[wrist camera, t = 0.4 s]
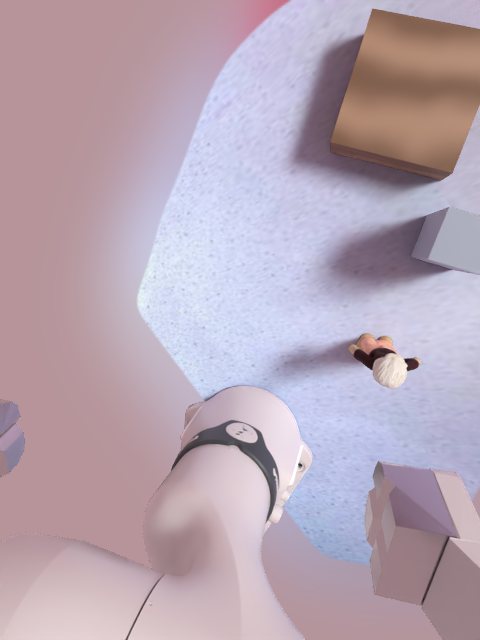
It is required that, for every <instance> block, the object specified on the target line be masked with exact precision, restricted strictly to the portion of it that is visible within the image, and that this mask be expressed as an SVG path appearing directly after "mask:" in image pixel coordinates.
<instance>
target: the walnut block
mask: <svg viewBox="0 0 480 640" xmlns="http://www.w3.org/2000/svg"><path fill="white" fill-rule="evenodd" d="M479 105H480V29H477V28H471V27H466V26H461V25H456V24H450V23H445V22H440V21H435V20H429V19H424V18H419V17H414V16H408V15H403V14H398V13H393V12H387V11H382V10H377V9H372V12H371V15H370V18H369V21H368V25H367V28H366V31H365V34H364V37H363V40H362V43H361V47H360V50H359V53H358V56H357V59H356V62H355V65H354V68H353V72H352V75H351V78H350V81H349V84H348V87H347V90H346V93H345V97H344V100H343V103H342V106H341V109H340V112H339V115H338V119H337V122H336V125H335V128H334V131H333V134H332V137H331V140H330V148H331V152H333V153H337V154H341V155H345V156H348V157H352V158H356V159H360V160H364V161H368V162H372V163H376V164H380V165H384V166H387V167H391V168H395V169H399V170H403V171H407V172H411V173H415V174H419V175H423V176H426V177H430V178H434V179H438V180H443V179H444V178H446V177H447V176H449V175H450V174H452V173H453V170H454V168H455V165H456V163H457V160H458V158H459V155H460V153H461V150H462V148H463V145H464V142H465V140H466V137H467V135H468V132H469V130H470V127H471V125H472V122H473V120H474V117H475V115H476V112H477V110H478V107H479Z"/></svg>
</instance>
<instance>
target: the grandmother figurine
mask: <svg viewBox="0 0 480 640" xmlns="http://www.w3.org/2000/svg"><path fill="white" fill-rule="evenodd" d="M348 350H349V352H350V353H352V355H353V356H354V357H355V358H356V359H357V360H359V361H361V362H362V363H363V364H364V365H365V366H367V367H368V368H369V369H371V370H373V376H374V378H375V380H376V381H377V382H378V383H379V384H381V385H383V386H386V387H388V388H391V389H393V388H397V387H399V386H400V385H401V384H402V383H403V382H404V381H405V379H406V376H407V371H410V370H414V369H416V368H417V367H418V366H419V365H420V364H421V361H420V359H419V358H416V357H415V358H410V359H409V358H408V359H403V358H402V357H401V356H400V355H399V354H397V352H396V351H395V349H394V348H393V347H392V339H391V338H390V337H388V336H382V337H380V338H379V340H374V337H373V336H372V335H370V334H363V335H362V336H361V338H360V339H359V340H358V342H357V343H356V345H354V344H352V345H350V346H349V347H348Z"/></svg>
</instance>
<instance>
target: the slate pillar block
mask: <svg viewBox="0 0 480 640" xmlns="http://www.w3.org/2000/svg"><path fill="white" fill-rule="evenodd" d="M410 257H412V258H416V259H419V260H422V261H425V262H429V263H432V264H435V265H439V266H442V267H445V268H449V269H452V270H457V271H462V272H467V273H473V274H478V275H480V215H477V214H473V213H469V212H466V211H462V210H459V209H455V208H451V207H448V208H445V209H443V210H440V211H437V212H435V213H432V214H429V215H427V216H426V219H425V221H424V224H423V226H422V229H421V231H420V234H419V236H418V239H417V241H416V244H415V246H414V249H413V251H412V254H411V256H410Z"/></svg>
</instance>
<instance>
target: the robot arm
mask: <svg viewBox="0 0 480 640" xmlns="http://www.w3.org/2000/svg"><path fill="white" fill-rule="evenodd" d="M19 418H20V413H19V409H18V405H17V404H15V403H13V402H11V401H6V400H1V399H0V477H2V476H4V475H6V474H8V473H10V472H11V470H12V469H13V468H14V467H15V466H16V465H17V464H18V462H19V460H20V458H21V456H22V454H23V452H24V445H25V438H24V432H23V431H22V430H21V429H20V427H19V426H18V425H17V424H16V422H17V421H18V419H19ZM180 438H181V440H182V444H181V451H180V452H179V454H178V456H177V458H176V460H175V462H174V464H173V466H172V469H171V472H170V474H169V475H168V476H167V478H166V479H165V480H164V481H163V483H162V484H161V486H160V487H159V488H158V490H157V491H156V492H155V494H154V495H153V496H152V498H151V499H150V501H149V503H148V506H147V508H146V511H145V515H144V519H143V539H144V544H145V548H146V552H147V555H148V559H149V562H150V564H151V567H152V568H149V567H147V566H144V565H142V564H139V563H137V562H134V561H132V560H130V559H127V558H125V557H123V556H120V555H118V554H115V553H113V552H110V551H108V550H106V549H103V548H101V547H98V546H96V545H93V544H91V543H89V542H86V541H81V540H75V539H69V538H63V537H57V536H50V535H42V534H34V533H18V534H15V535H12V536H10V537H8V538H6V539H4V540H2V541H0V640H306V639H305V638H304V637H303V635H302V634H301V633H300V632H299V630H298V629H297V628H296V627H295V625H294V624H293V623H292V622H291V620H290V619H289V618H288V616H287V615H286V613H285V612H284V610H283V609H282V607H281V605H280V604H279V602H278V600H277V599H276V596H275V595H274V593H273V590H272V588H271V586H270V584H269V582H268V580H267V577H266V574H265V571H264V568H263V565H262V560H261V546H262V539H263V534H264V533H265V532H266V530H267V529H268V527H269V526H270V524H271V523H273V524H277V522H278V521H279V519H280V517H281V515H282V512H283V508H282V507H283V505H284V504H285V502H286V501H287V500H288V498H289V496H290V495H291V493H292V492H293V490H294V489H295V487H296V486H297V484H298V483H299V481H300V480H301V478H302V477H303V475H304V474H305V472H306V471H307V470H308V468H309V467H310V465H311V463H312V460H313V454H312V452H311V450H310V449H309V447H308V446H307V445H306V444H305V442H304V441H303V440H302V438H301V436H300V433H299V429H298V426H297V423H296V420H295V418H294V416H293V414H292V413H291V411H290V410H289V408H288V407H287V406H286V405H285V404H284V403H283V402H282V401H281V400H280V399H279V398H278V397H276V396H275V395H273V394H272V393H270V392H268V391H266V390H263V389H261V388H257V387H252V386H236V387H231V388H228V389H225V390H223V391H221V392H219V393H218V394H216V395H215V396H214V397H212V398H211V399H209V400H207V401H204V402H199V403H195V404H192V405H190V406H189V408H188V409H187V411H186V416H185V428H184V431H183V433H182V434H181V437H180ZM298 463H301V464H302V466H299V465H298ZM373 479H374V484H375V488H374V489H372V490H371V491H369V493H368V498H367V502H366V511H365V530H366V538H367V541H368V542H369V544H370V545H371V546H372V547H373V550H372V554H371V557H370V567H371V574H372V581H373V588H374V595H378V596H382V597H386V598H391V599H395V600H399V601H404V602H408V603H412V604H417V605H421V606H422V610H423V611H424V613H425V614H426V616H427V617H428V619H429V620H430V622H431V623H432V625H433V626H434V627H435V629H436V630H437V632H438V633H439V635H440V636H441V638H442V639H443V640H480V519H479V517H478V514H477V513H476V510H475V508H474V506H473V504H472V501H471V499H470V497H469V495H468V493H467V490H466V488H465V486H464V484H463V482H462V479H461V477H460V476H459V475H458V474H457V473H456V472H449V471H442V470H435V469H425V468H418V467H412V466H406V465H399V464H393V463H386V462H380V461H378V463H377V465H376V467H375V470H374V474H373Z"/></svg>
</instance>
